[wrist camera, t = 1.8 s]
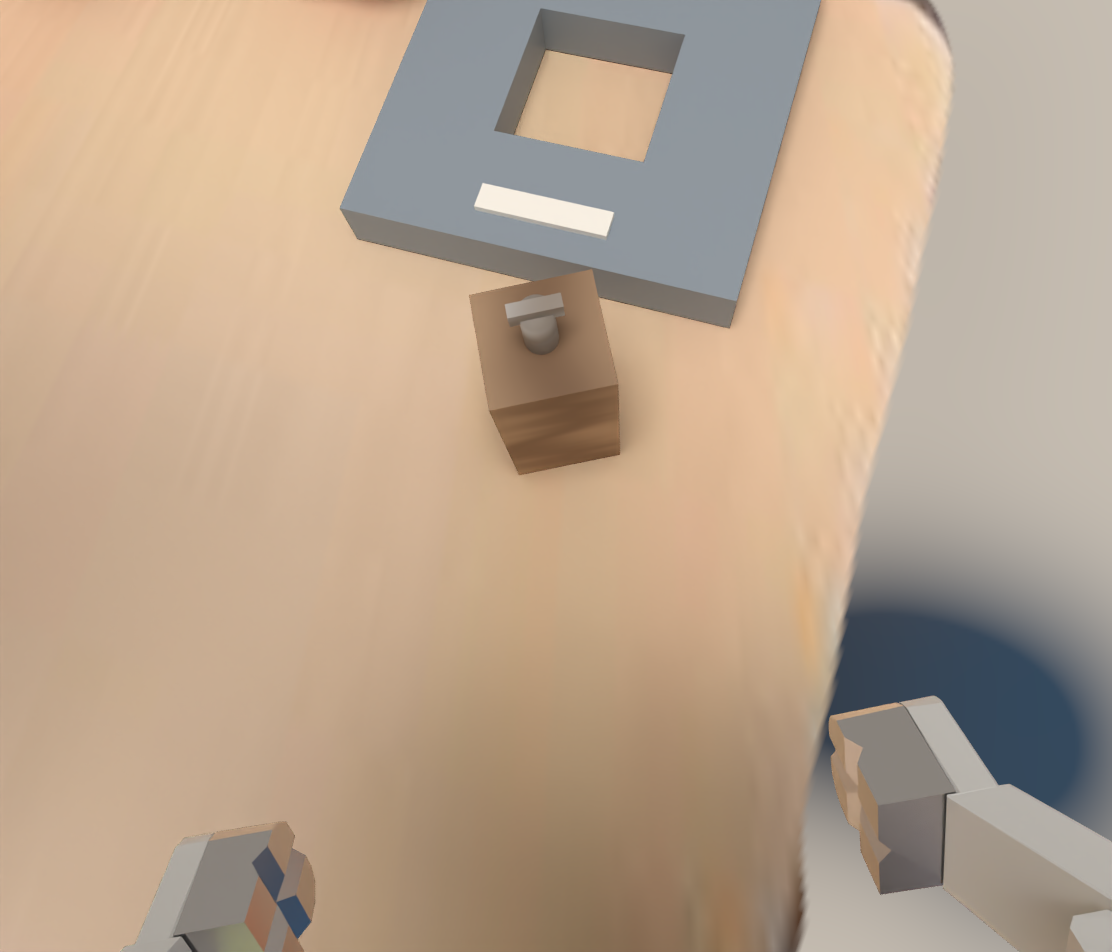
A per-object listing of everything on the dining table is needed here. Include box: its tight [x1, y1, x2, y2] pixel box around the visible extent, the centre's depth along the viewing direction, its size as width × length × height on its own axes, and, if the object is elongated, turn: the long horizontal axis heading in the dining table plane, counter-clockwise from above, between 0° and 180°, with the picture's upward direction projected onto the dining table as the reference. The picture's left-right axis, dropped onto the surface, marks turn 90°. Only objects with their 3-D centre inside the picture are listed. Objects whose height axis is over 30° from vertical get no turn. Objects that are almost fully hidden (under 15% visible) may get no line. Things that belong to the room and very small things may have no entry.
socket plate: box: [340, 0, 821, 328], centre depth 38 cm, size 18×18×3 cm
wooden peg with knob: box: [469, 269, 620, 475], centre depth 30 cm, size 4×4×10 cm
